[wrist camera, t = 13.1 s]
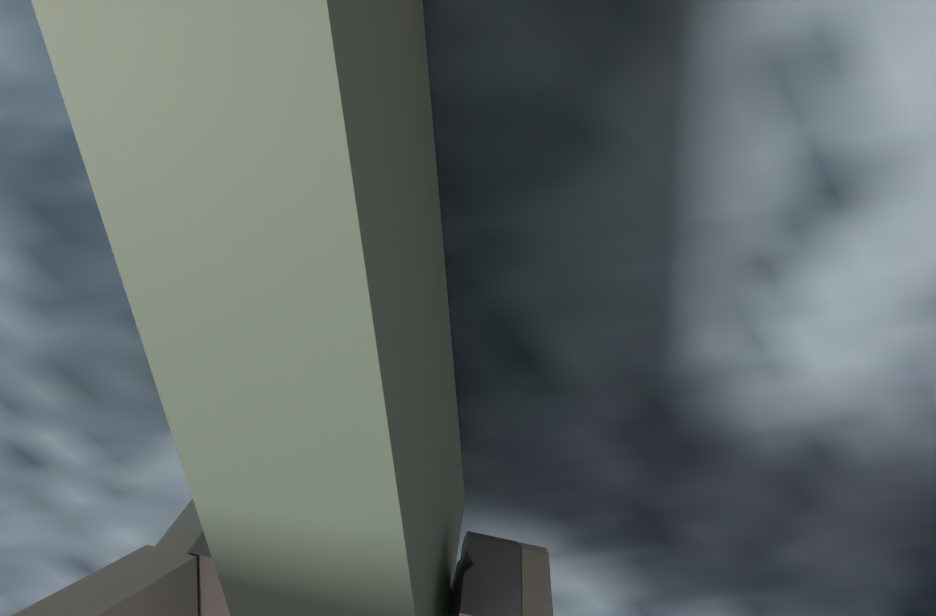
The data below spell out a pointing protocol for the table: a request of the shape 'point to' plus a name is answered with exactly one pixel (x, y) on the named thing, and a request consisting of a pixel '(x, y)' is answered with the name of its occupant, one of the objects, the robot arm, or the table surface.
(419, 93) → the sage green l-bracket
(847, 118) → the table surface
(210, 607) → the robot arm
